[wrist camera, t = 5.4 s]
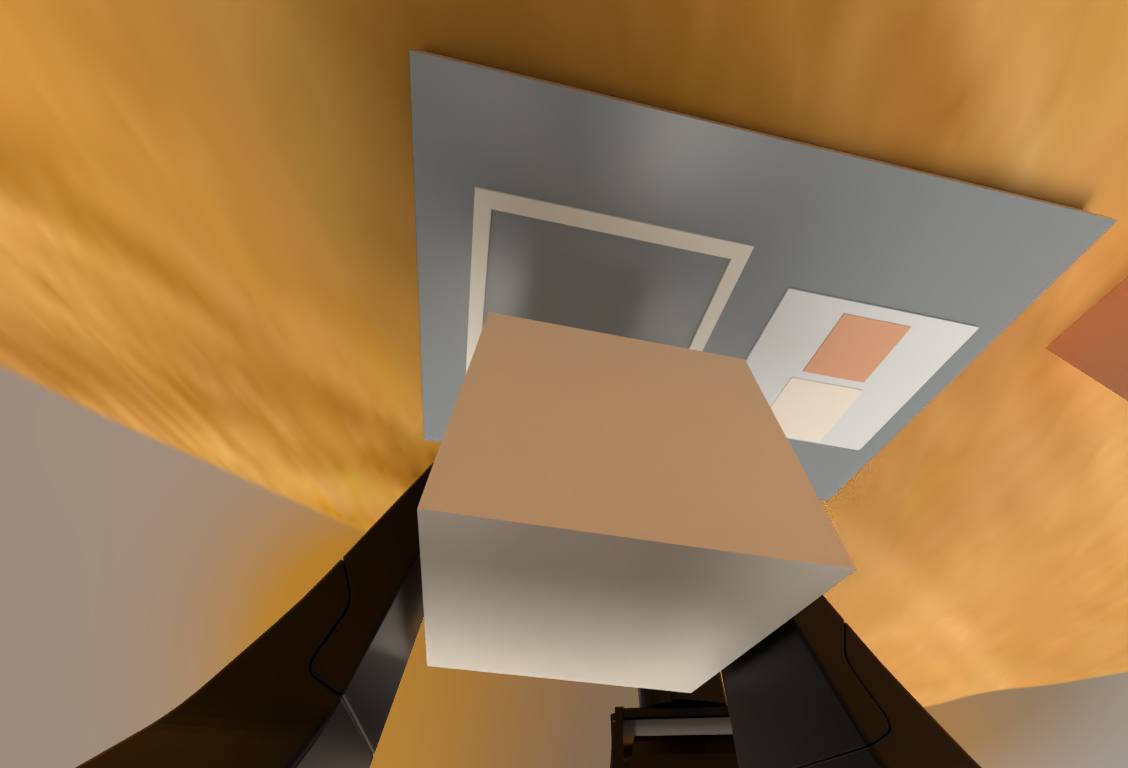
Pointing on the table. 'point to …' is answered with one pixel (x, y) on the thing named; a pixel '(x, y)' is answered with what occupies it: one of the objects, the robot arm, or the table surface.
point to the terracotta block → (1100, 341)
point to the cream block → (614, 513)
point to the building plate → (715, 251)
